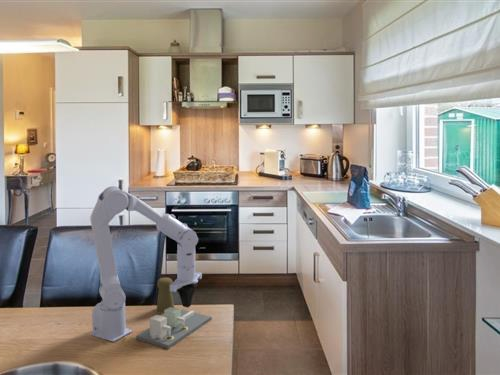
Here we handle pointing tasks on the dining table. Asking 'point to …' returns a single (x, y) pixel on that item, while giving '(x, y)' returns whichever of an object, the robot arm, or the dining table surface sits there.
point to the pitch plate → (172, 329)
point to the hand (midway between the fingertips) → (186, 306)
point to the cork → (164, 295)
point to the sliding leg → (173, 316)
